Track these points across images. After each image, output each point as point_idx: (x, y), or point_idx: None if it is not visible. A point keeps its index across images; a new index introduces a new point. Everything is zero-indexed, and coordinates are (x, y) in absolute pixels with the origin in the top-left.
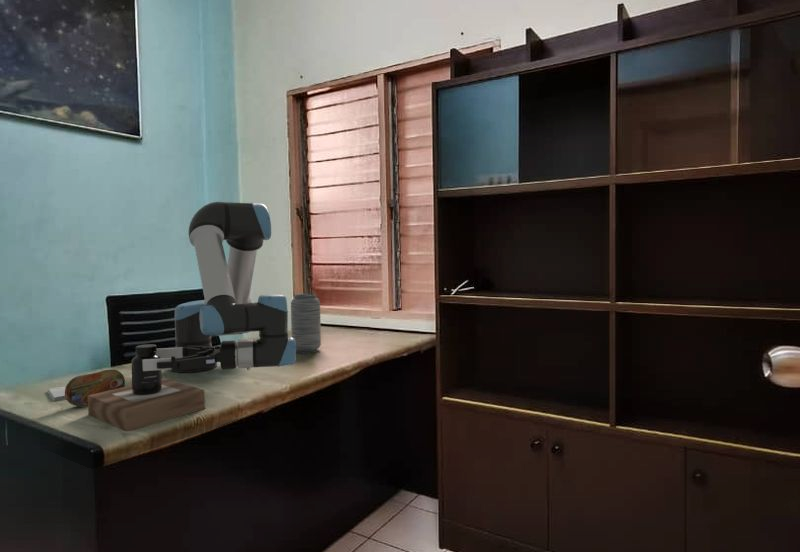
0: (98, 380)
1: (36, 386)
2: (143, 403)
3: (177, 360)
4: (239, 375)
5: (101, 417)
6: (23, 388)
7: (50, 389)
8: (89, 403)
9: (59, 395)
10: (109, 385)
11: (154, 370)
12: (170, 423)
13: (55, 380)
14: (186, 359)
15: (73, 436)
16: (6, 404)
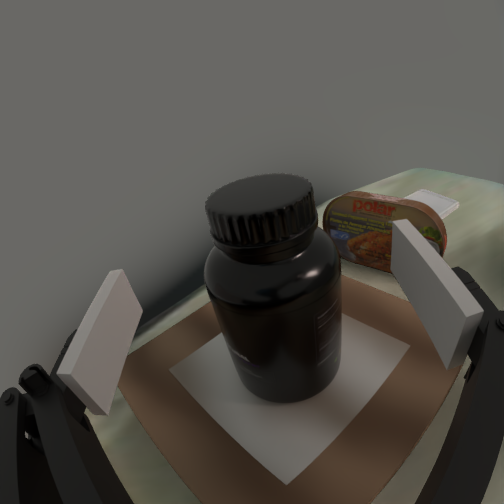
0: (385, 220)
1: (438, 177)
2: (145, 395)
3: (9, 408)
4: None
5: None
6: (425, 173)
7: (419, 190)
8: None
9: None
10: None
11: (230, 335)
12: (150, 492)
13: (468, 179)
14: (3, 453)
15: (154, 323)
16: (356, 189)
